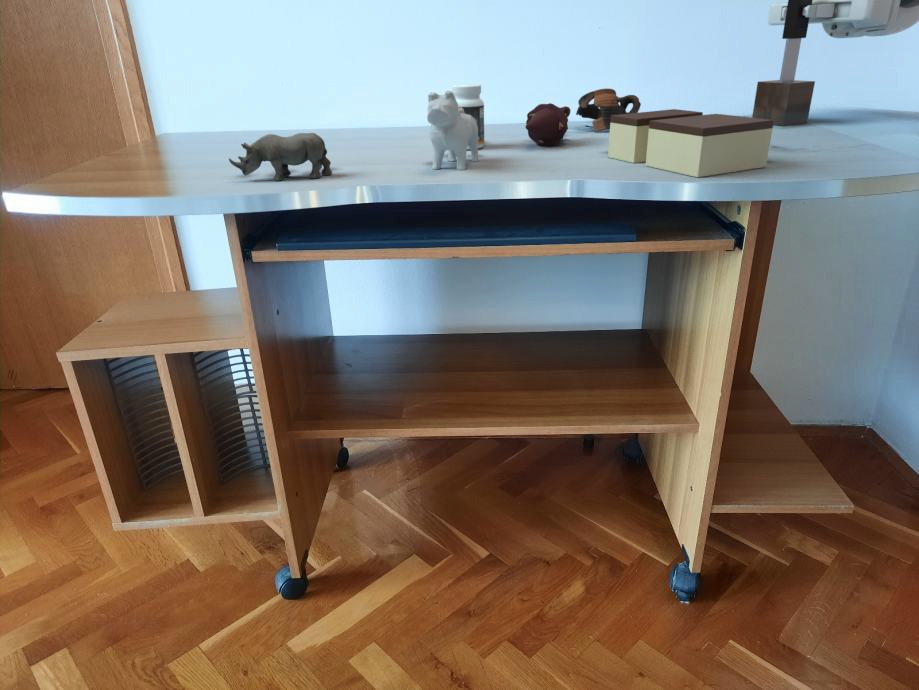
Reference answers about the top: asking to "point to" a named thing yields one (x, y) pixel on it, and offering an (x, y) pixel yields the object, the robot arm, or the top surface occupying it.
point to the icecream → (547, 124)
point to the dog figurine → (451, 130)
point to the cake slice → (636, 133)
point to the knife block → (783, 101)
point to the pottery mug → (605, 107)
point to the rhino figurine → (285, 154)
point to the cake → (708, 144)
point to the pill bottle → (471, 106)
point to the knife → (793, 37)
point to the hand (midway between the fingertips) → (794, 12)
